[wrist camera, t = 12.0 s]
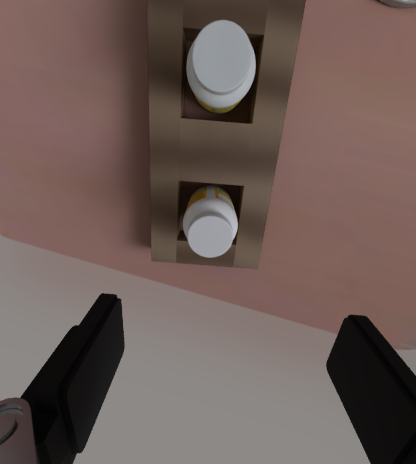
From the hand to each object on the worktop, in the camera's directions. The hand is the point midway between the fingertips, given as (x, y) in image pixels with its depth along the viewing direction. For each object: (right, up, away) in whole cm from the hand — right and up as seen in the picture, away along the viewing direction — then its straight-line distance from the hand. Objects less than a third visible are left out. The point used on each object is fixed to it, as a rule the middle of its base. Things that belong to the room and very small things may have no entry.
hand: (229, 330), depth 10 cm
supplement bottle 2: (-1, +7, +19) cm, 21 cm away
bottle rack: (0, +13, +17) cm, 21 cm away
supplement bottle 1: (0, +19, +15) cm, 24 cm away
